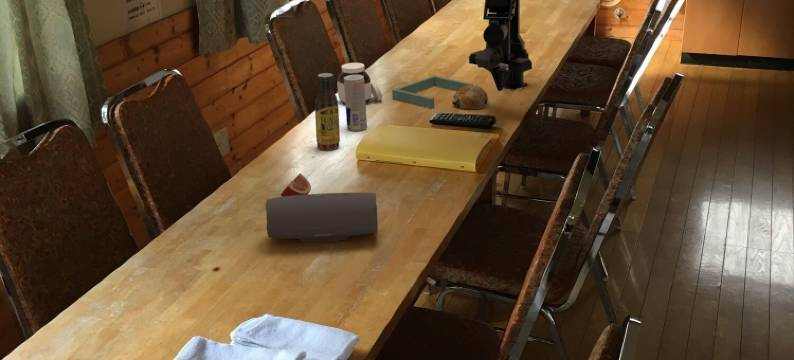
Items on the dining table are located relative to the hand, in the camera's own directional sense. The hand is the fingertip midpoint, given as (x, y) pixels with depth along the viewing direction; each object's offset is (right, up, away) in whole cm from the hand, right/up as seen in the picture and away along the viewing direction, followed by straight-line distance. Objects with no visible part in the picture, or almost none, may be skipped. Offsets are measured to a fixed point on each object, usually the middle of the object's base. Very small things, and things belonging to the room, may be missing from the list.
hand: (499, 90), depth 269 cm
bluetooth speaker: (-45, -38, -70) cm, 91 cm away
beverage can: (-41, -11, -5) cm, 42 cm away
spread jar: (-40, -2, +18) cm, 44 cm away
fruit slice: (-53, -30, -50) cm, 78 cm away
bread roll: (-8, -4, +10) cm, 13 cm away
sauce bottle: (-47, -17, -18) cm, 54 cm away
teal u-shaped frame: (-18, 0, +19) cm, 27 cm away
